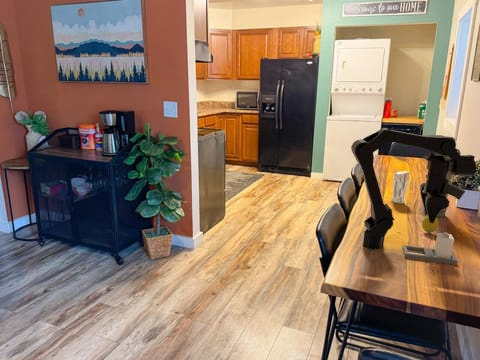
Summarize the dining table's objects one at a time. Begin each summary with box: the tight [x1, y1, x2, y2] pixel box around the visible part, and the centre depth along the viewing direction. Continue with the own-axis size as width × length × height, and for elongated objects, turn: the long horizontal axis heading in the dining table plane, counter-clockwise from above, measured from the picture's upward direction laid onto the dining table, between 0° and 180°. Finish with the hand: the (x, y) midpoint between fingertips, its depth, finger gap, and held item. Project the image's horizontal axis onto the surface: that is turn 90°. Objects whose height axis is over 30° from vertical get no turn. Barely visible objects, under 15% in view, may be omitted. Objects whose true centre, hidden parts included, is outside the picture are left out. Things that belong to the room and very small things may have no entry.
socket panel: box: [401, 244, 459, 266], centre depth 119 cm, size 16×7×2 cm, turn 73°
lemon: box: [421, 215, 439, 234], centre depth 138 cm, size 6×6×8 cm
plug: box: [434, 231, 455, 259], centre depth 117 cm, size 4×4×9 cm
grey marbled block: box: [391, 170, 410, 205], centre depth 175 cm, size 7×7×15 cm
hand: (429, 218), depth 121 cm, fingers open, 9 cm apart
